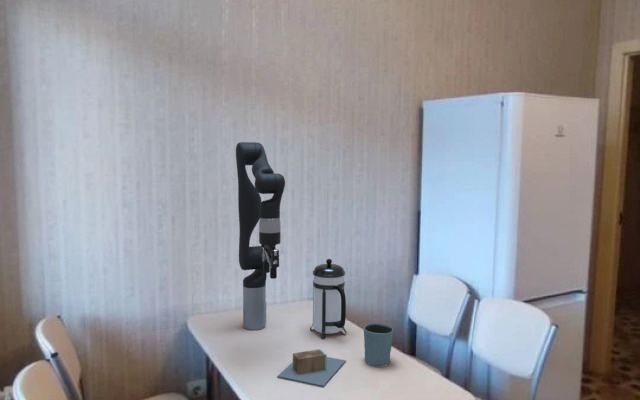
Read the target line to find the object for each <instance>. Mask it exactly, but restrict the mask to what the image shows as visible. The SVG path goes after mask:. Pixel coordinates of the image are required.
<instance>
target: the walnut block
mask: <svg viewBox="0 0 640 400" xmlns="http://www.w3.org/2000/svg"><path fill="white" fill-rule="evenodd" d="M327 355H328V354H327V353H325V351H324V350H322V349H321V348H318V349H312V350H307V351H300V352H299V351H298V352H293V353H292V362H293V369H294V370H295V371H296V372H297V374H302V373H308V372H314V371H319V370H325V369H326V366H327V357H328V356H327Z"/></svg>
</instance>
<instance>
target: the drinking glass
mask: <svg viewBox="0 0 640 400" xmlns="http://www.w3.org/2000/svg"><path fill="white" fill-rule="evenodd" d="M363 336H364V337H363V342H364V345H363V346H364V362H365V364H366V365H368V366H370V367H373V368H374V367H375V368H376V367H377V368H378V367H379V368H382V366H383V367H386V366H388V365H389V364H390V362H391V361H390V360H391V351H392V343H393V336H394V328H393V327H392V326H390V325H389V324H384V323H378V322H375V323H373V322H372V323H367V324H366V325H364V326H363ZM387 364H388V365H387ZM385 365H386V366H385Z"/></svg>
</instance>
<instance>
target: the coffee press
mask: <svg viewBox="0 0 640 400" xmlns="http://www.w3.org/2000/svg"><path fill="white" fill-rule="evenodd" d="M332 262H333V260H332V259H331V258H327V259H326V260H325V263H322V264H317V266H315V267H314V269H313V270H312V275H313V280H312V287H313V288H312V289H313V290H312V291H313V292H312V296H313V297H312V325H311V327H310V329H309V330H310V331H311V332H313V331H316V332H318V333H320V334H321V335H320V339H322V340H326V336H327V334H328V335H330V334H331V335H332V334H336V333H340V334H342V336H345V335H347V330H346V329H345V324H346V318H347V317H346V316H347V315H346V314H347V313H346V310H347V305H346V304H347V303H346V301H347V298H346V294H345V285H346V284H345V283H346V282H345V276H346V271H345V270H344V268H343V267H342V266H341V265H339V264H336V263H335V264H334V263H332ZM312 327H313V328H312ZM342 330H343V331H342Z"/></svg>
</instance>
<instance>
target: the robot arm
mask: <svg viewBox="0 0 640 400" xmlns="http://www.w3.org/2000/svg"><path fill="white" fill-rule="evenodd" d="M235 160H236V171H237V184H238V185H237V187H238V189H237V197H238V199H237V200H238V201H237V202H238V205H237V206H238V221H239V222H238V223H239V224H238V225H239V236H238V238H239V239H238V240H239V241H238V243H239V244H238V262H239V267H240V269H241V270H242V271H251V270H254V271H253V272H252V273H250V274H249V275H247V276H246V277H244V278H243V280H242V311H243V312H242V327H243V328H244V329H246V330H249V331H252V330H253V331H255V330H256V331H257V330H262V329H264V328H266V324H267V298H266V297H267V296H266V295H267V294H266V292H267V289H266V287H267V286H266V285H267V284H266V283H267V277H268V276H267V273H269V277H270V279H272V280H273V279H275V280H276V279H277V277H278V275H277V273H278V272H277V271H278V270H277V269H278V268H279V267H280V250H279V249H277V248H276V245H279V244H281V226H282V225H281V218H280V217H281V202H282V198H283V193H284V192H285V187H286V180H285V177H284V175H283V174H281V173H275V172H274V170H273V168H272V166H271V165H270V163H269V161H268V157H267V153H266V150H265V148H264V145H263V144H262V143H260V142H253V141H251V142H250V141H248V142H247V141H246V142H241V141H239V142H238V143H237V144H236V146H235ZM246 166H251V173H252V175H253V177H254V179H255V180H254V184H253V182H252V181H251V179H250V177H249V175H248V172H247V167H246ZM260 194H261V195H268V194H269V195H272V197H271V198H269V199H266V200H263V201H262V197H261V195H260ZM258 223H259V224H258ZM257 224H258V243H259V244H260V245H256V246H255V245H253V246H250V244H251V243H250V241H251V237H252V234H253V231H254V230H255V228H256V226H257Z"/></svg>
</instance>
